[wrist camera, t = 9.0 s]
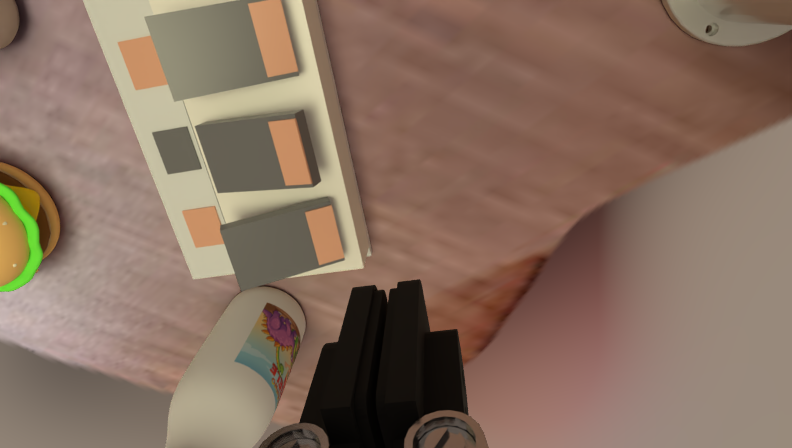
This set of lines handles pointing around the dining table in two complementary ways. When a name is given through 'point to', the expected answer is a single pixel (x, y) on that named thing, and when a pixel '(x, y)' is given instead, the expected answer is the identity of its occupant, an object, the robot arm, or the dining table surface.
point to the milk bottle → (238, 373)
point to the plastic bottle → (8, 22)
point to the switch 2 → (282, 243)
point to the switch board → (160, 118)
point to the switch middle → (260, 152)
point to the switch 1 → (222, 47)
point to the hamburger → (24, 227)
